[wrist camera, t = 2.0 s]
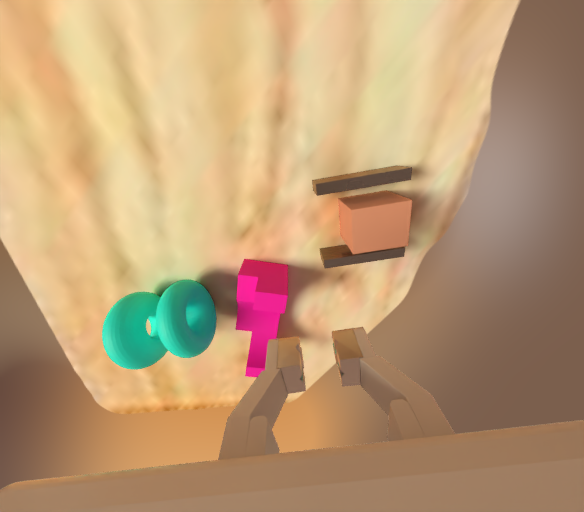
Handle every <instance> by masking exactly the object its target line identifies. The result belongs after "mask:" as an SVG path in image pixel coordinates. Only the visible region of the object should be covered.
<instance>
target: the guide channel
mask: <svg viewBox="0 0 584 512" xmlns="http://www.w3.org/2000/svg"><path fill="white" fill-rule="evenodd" d="M411 173H412V167H403V166H391V167H386V168H380V169H374V170H368V171H363V172H357V173H351V174H345V175H340V176H334V177H328V178H322V179H317V180H312V184H313V191H314V192H315V194H316V195H317V196H318V195H324V194H329V193H335V192H341V191H347V190H353V189H359V188H365V187H371V186H377V185H382V184H388V183H394V182H400V181H406V180H411ZM404 252H405V247H397V248H391V249H384V250H378V251H371V252H365V253H358V254H352V252H351V250H350V249H349V247H348V246H347V245H341V246H334V247H328V248H322V249H320V255H321V259H322V262H323V265H324V268H331V267H338V266H344V265H351V264H358V263H364V262H371V261H377V260H384V259H391V258H397V257H404Z"/></svg>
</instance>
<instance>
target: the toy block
mask: <svg viewBox="0 0 584 512" xmlns="http://www.w3.org/2000/svg"><path fill="white" fill-rule="evenodd" d="M287 298H288V265H284V264H277V263H270V262H263V261H255V260H248V259H244V261H243V264H242V266H241V269H240V271H239V274H238V285H237V300H236V301H237V303H238V313H237V323H236V330H245V331H252V337H251V343H250V349H249V355H248V361H247V367H246V375H245V376H249V377H258V376H259V374H260V373H261V371H264V370H265V365H266V356H267V346H268V341H269V340H271V339H276V337H277V330H278V324H279V318H280V313H283V314H284V313H285V308H286V303H287Z"/></svg>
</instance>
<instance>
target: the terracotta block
mask: <svg viewBox="0 0 584 512" xmlns="http://www.w3.org/2000/svg"><path fill="white" fill-rule="evenodd" d="M338 203H339V219H340V235H341V237H342V238H343V240H344V241H345V243H346V244H347V246H348V247H349V249H350V250H351V252H352V254H358V253H365V252H371V251H378V250H384V249H391V248H397V247H404V246H408V240H409V229H410V219H411V208H412V200H411V199H408V198H405V197H403V196H400V195H397V194H395V193H392V192H389V191H387V190H386V191H380V192H374V193H368V194H362V195H356V196H350V197H344V198H338Z"/></svg>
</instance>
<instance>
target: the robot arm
mask: <svg viewBox="0 0 584 512" xmlns="http://www.w3.org/2000/svg"><path fill="white" fill-rule="evenodd" d="M332 338H333V342H334V343H333V348H334V354H335V359H336V363H337V364H338V370H339V375H340V379H341V383H342V386H351V385H361V386H362V387H363V388H364V390H365V391H366V392H367V393H368V394H369V395H370V396H371V397H372V398H373V399H374V401H376V403H377V404H378V405H379V406H380V407H381V408H382V409H383V410H384V411H385V413H386V414H387V415H388V416H389V420H388V432H387V438H388V441H387V442H378V443H369V444H359V445H350V446H341V447H332V448H323V449H313V450H304V451H295V452H287V453H279V447H278V445H277V442H276V440H275V437H274V435H273V432H272V428H273V426H274V423H275V421H276V419H277V417H278V415H279V413H280V411H281V408H282V406H283V404H284V402H285V400H286V398H287V396H288V394H289V393H296V392H302V391H306V388H305V376H304V371H303V369H304V363H303V355H302V349H301V347H300V340H299V336H296V337H287V338H279V339H271V340H269V341H268V346H267V356H266V365H265V370H264V371H261V373H260V374H259V376H258V377H257V378H256V380H255V381H254V383H253V384H252V385H251V387H250V388H249V390H248V391H247V392H246V394H245V395H244V396H243V398H242V399H241V401H240V402H239V403H238V405H237V406H236V408H235V409H234V410H233V412H232V413H231V415H230V416H229V417H228V419H227V423H226V428H225V432H224V437H223V441H222V445H221V450H220V454H219V459H218V460H213V461H205V462H195V463H186V464H177V465H168V466H158V467H149V468H140V469H131V470H122V471H113V472H104V473H95V474H85V475H76V476H67V477H58V478H49V479H39V480H29V481H21V482H16V483H12V484H10V485H8V486H6V487H4V488H3V489H1V490H0V512H584V420H579V421H571V422H561V423H552V424H543V425H534V426H524V427H515V428H507V429H497V430H488V431H480V432H471V433H461V434H455V433H454V431H453V430H452V428H451V427H450V425H449V423H448V421H447V420H446V418H445V416H444V415H443V413H442V411H441V410H440V408H439V406H438V405H437V403H436V401H435V400H434V398H433V396H432V395H431V394H430V393H429V392H427V391H426V390H424V389H423V388H422V387H421V386H419V385H418V384H417V383H415V382H414V381H413V380H411V379H410V378H409V377H407V376H406V375H405V374H403V373H402V372H401V371H399V370H398V369H397V368H395V367H394V366H393V365H391V364H390V363H389V362H387V361H386V360H385V359H383V358H382V357H381V356H376V354H375V352H374V350H373V348H372V345H371V343H370V341H369V339H368V337H367V334H366V332H365V330H364V328H363V327H358V328H351V329H344V330H337V331H332Z"/></svg>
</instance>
